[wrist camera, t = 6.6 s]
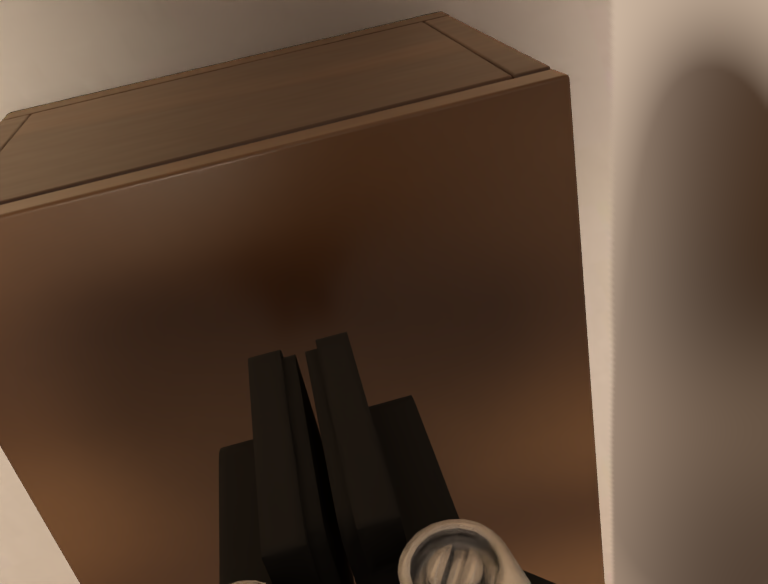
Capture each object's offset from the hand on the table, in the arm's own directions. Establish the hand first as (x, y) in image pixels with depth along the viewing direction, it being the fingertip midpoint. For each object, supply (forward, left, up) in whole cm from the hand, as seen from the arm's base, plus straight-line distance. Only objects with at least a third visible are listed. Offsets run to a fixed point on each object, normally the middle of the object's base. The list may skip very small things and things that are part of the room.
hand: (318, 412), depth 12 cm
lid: (+3, +6, -3) cm, 7 cm away
